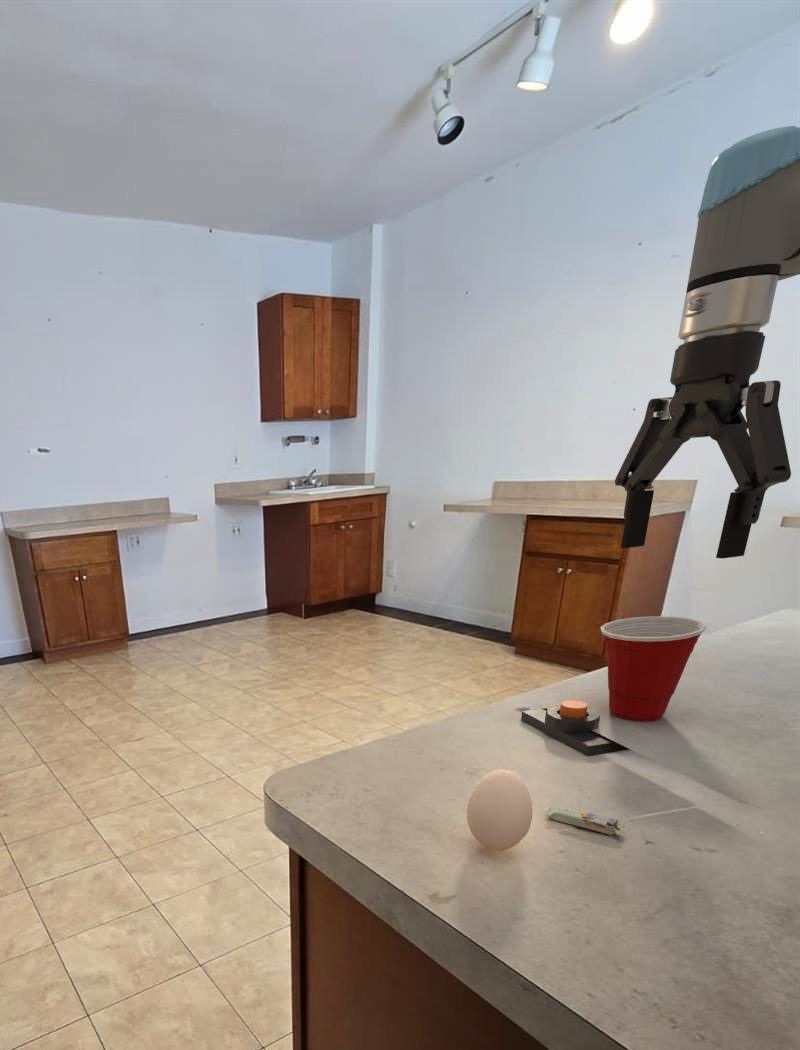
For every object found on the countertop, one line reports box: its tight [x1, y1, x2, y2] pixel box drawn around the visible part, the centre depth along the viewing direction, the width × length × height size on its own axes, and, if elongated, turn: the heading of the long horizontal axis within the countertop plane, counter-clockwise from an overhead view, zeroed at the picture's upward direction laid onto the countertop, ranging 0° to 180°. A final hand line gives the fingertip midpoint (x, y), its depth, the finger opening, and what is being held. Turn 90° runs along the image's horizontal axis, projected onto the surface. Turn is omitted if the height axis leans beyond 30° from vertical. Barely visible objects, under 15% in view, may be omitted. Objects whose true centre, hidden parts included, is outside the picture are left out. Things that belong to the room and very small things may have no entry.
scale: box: [520, 705, 632, 757], centre depth 82 cm, size 18×13×3 cm
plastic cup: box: [600, 615, 708, 723], centre depth 80 cm, size 11×11×12 cm
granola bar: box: [545, 805, 626, 836], centre depth 62 cm, size 7×2×1 cm, turn 48°
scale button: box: [559, 700, 589, 718], centre depth 80 cm, size 3×3×2 cm
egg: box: [466, 768, 534, 852], centre depth 58 cm, size 6×6×8 cm
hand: (677, 551), depth 75 cm, fingers open, 13 cm apart
